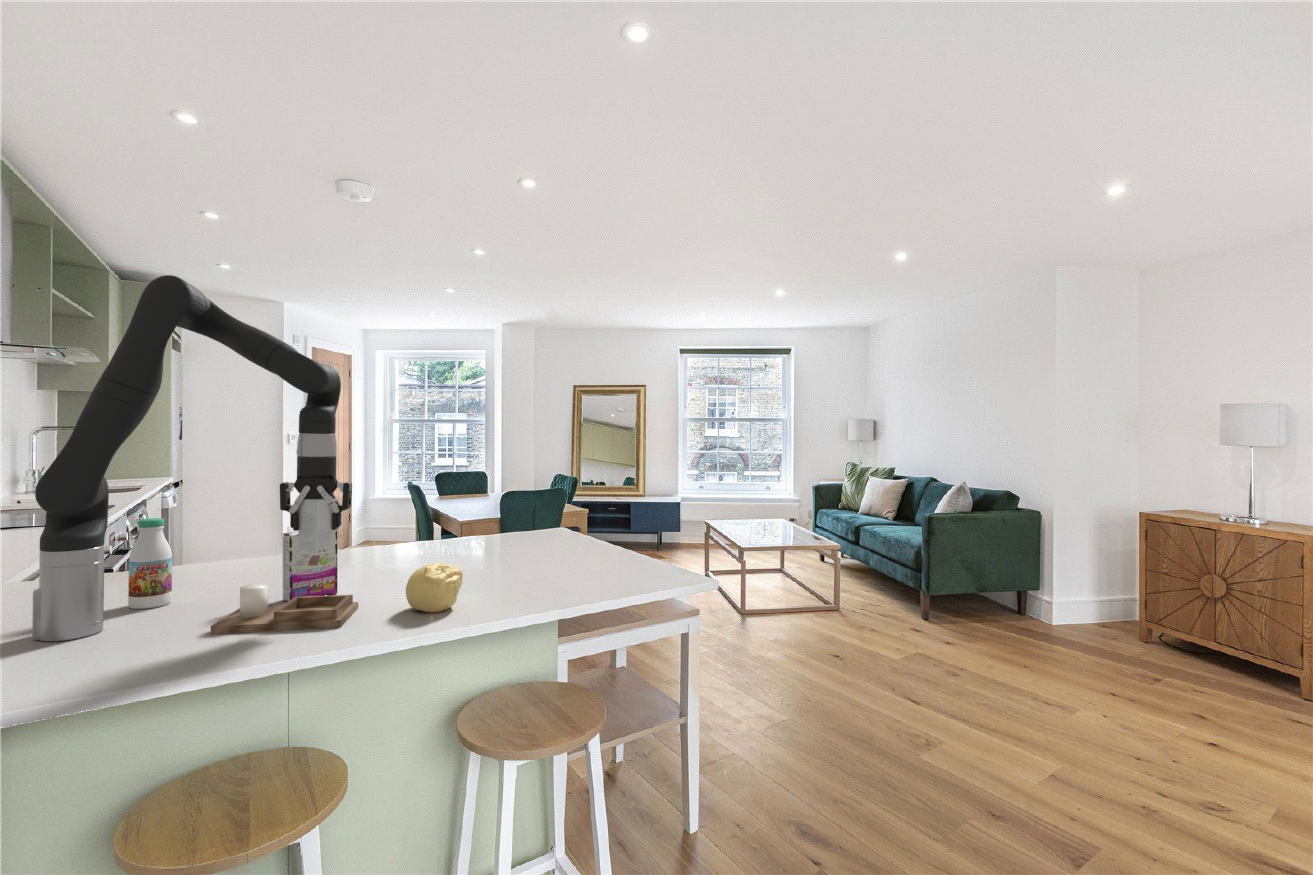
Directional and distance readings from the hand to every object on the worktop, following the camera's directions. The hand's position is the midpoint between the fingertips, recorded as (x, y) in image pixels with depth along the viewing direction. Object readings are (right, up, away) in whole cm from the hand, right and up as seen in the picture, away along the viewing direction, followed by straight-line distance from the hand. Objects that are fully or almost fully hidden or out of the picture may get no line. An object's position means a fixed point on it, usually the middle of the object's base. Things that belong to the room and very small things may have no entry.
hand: (315, 529), depth 131 cm
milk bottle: (-43, -19, +8) cm, 48 cm away
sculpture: (+22, -20, +9) cm, 31 cm away
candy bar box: (-11, -19, +17) cm, 28 cm away
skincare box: (0, -5, 0) cm, 5 cm away
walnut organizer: (-5, -19, -1) cm, 20 cm away
